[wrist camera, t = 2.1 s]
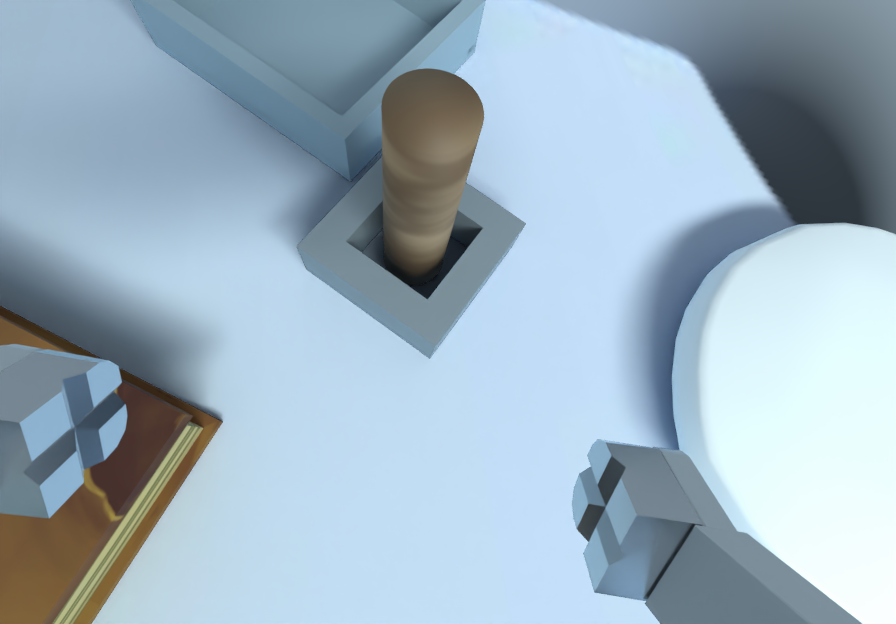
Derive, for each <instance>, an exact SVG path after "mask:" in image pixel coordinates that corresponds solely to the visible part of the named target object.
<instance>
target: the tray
mask: <svg viewBox="0 0 896 624" xmlns="http://www.w3.org/2000/svg"><path fill="white" fill-rule="evenodd" d="M485 1H486V0H131V2H132V4H133V5H134V7H135V9H136V11H137V12H138V14H139V16H140V18H141V20H142V21H143V23H144V25H145V27H146V28H147V30H148V32H149V34H150V35H151V37H152V39H153V41H154V43H155V44H156V46H158V47H159V48H160V49H162V50H163V51H165V52H166V53H168V54H169V55H170V56H172V57H173V58H175V59H176V60H178V61H179V62H180V63H182V64H183V65H185V66H186V67H188V68H189V69H190V70H192V71H193V72H195V73H196V74H198V75H199V76H200V77H202V78H203V79H205V80H206V81H208V82H209V83H210V84H212V85H213V86H215V87H216V88H218V89H219V90H220V91H222V92H223V93H225V94H226V95H228V96H229V97H230V98H232V99H233V100H235V101H236V102H238V103H239V104H240V105H242V106H243V107H245V108H246V109H248V110H249V111H250V112H252V113H253V114H255V115H256V116H258V117H259V118H260V119H262V120H263V121H265V122H266V123H268V124H269V125H270V126H272V127H273V128H275V129H276V130H278V131H279V132H280V133H282V134H283V135H285V136H286V137H288V138H289V139H290V140H292V141H293V142H295V143H296V144H298V145H299V146H300V147H302V148H303V149H305V150H306V151H308V152H309V153H310V154H312V155H313V156H315V157H316V158H318V159H319V160H320V161H322V162H323V163H325V164H326V165H328V166H329V167H330V168H332V169H333V170H335V171H336V172H338V173H339V174H340V175H342V176H343V177H345V178H346V179H348V180H349V181H351V180H352V179H353V178H354V177H355V176H356V175H357V174H358V173H359V172H360V171H361V170H362V169H363V168H364V167H365V166H366V165H367V164H368V163H369V162H370V160H371V159H372V158H373V157H374V156H375V155H376V154H377V153H378V152H379V151H380V150H381V149H382V114H381V105H382V98H383V95H384V92H385V90H386V89H387V87H388V86H389V84H390V83H391V82H392V81H393V80H394V79H396V78H397V77H398V76H400V75H402V74H404V73H406V72H409V71H412V70H416V69H424V68H430V69H439V70H443V71H447V72H450V73H452V74H454V73H455V72H456V71H457V70H458V69H459V67H460V66H461V65H462V64H463V63H464V62H465V61H466V60H467V59H468V58H469V57H470V56H471V55H472V54H473V53H474V51H475V47H476V42H477V37H478V33H479V28H480V24H481V19H482V14H483V10H484V5H485Z"/></svg>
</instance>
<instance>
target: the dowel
mask: <svg viewBox="0 0 896 624" xmlns="http://www.w3.org/2000/svg"><path fill="white" fill-rule="evenodd" d="M381 114H382V179H383V243H384V264H385V267H386V269H387V271H388V272H390V273H391V274H392V275H394V276H395V277H397V278H398V279H399V280H401V281H402V282H404V283H405V284H406V285H422V284H425V283H427V282H429V281H431V280H432V279H433V278H434V277H435V276H436V275H437V274H438V272H439V271H440V269H441V265H442V262H443V259H444V255H445V252H446V248H447V245H448V241H449V238H450V235H451V231H452V228H453V224H454V221H455V217H456V214H457V211H458V207H459V204H460V200H461V197H462V193H463V190H464V187H465V183H466V180H467V176H468V173H469V169H470V166H471V163H472V159H473V156H474V152H475V149H476V145H477V142H478V139H479V135H480V132H481V128H482V125H483V120H484V110H483V105H482V102H481V100H480V98H479V96H478V94H477V93H476V91H475V90H474V89H473V88H472V87H471V86H470V85H469V84H468V83H467V82H466V81H464V80H463V79H462V78H460V77H458V76H456V75H454V74H452V73H450V72H447V71H443V70H439V69H430V68H424V69H416V70H412V71H409V72H406V73H404V74H402V75H400V76H398V77H397V78H396V79H394V80H393V81H392V82H391V83H390V84H389V86H388V87H387V89H386V90H385V92H384V95H383V98H382V105H381Z"/></svg>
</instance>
